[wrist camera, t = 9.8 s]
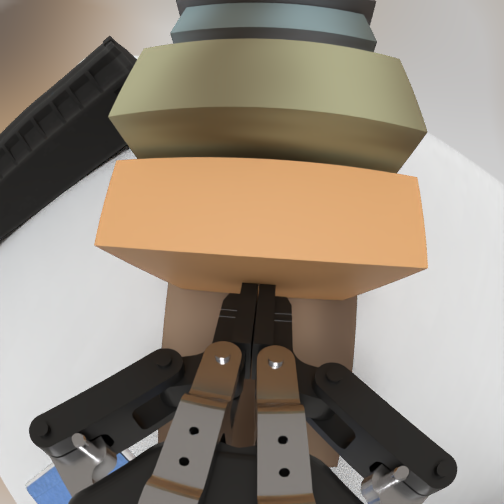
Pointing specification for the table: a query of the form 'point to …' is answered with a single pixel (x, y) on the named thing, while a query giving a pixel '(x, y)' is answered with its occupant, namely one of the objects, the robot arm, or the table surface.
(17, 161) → the magazine
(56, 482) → the blue flat slab
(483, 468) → the table surface
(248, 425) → the book row
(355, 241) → the loose bookend
